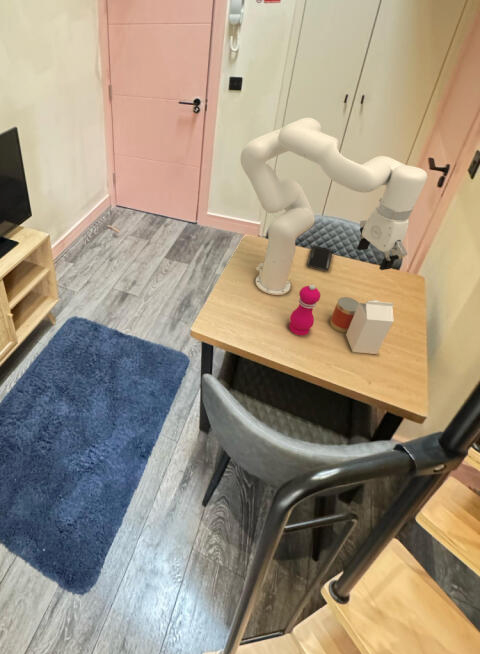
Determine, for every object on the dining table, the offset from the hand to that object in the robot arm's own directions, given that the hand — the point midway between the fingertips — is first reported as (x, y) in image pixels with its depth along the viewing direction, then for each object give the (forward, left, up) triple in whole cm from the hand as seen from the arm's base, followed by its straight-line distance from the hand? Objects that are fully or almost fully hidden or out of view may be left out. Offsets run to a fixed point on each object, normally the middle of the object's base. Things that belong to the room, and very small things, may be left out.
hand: (372, 258), depth 120 cm
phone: (-32, +20, -29) cm, 48 cm away
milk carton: (+8, -2, -29) cm, 30 cm away
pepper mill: (-5, -15, -29) cm, 33 cm away
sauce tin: (-1, -1, -29) cm, 29 cm away
